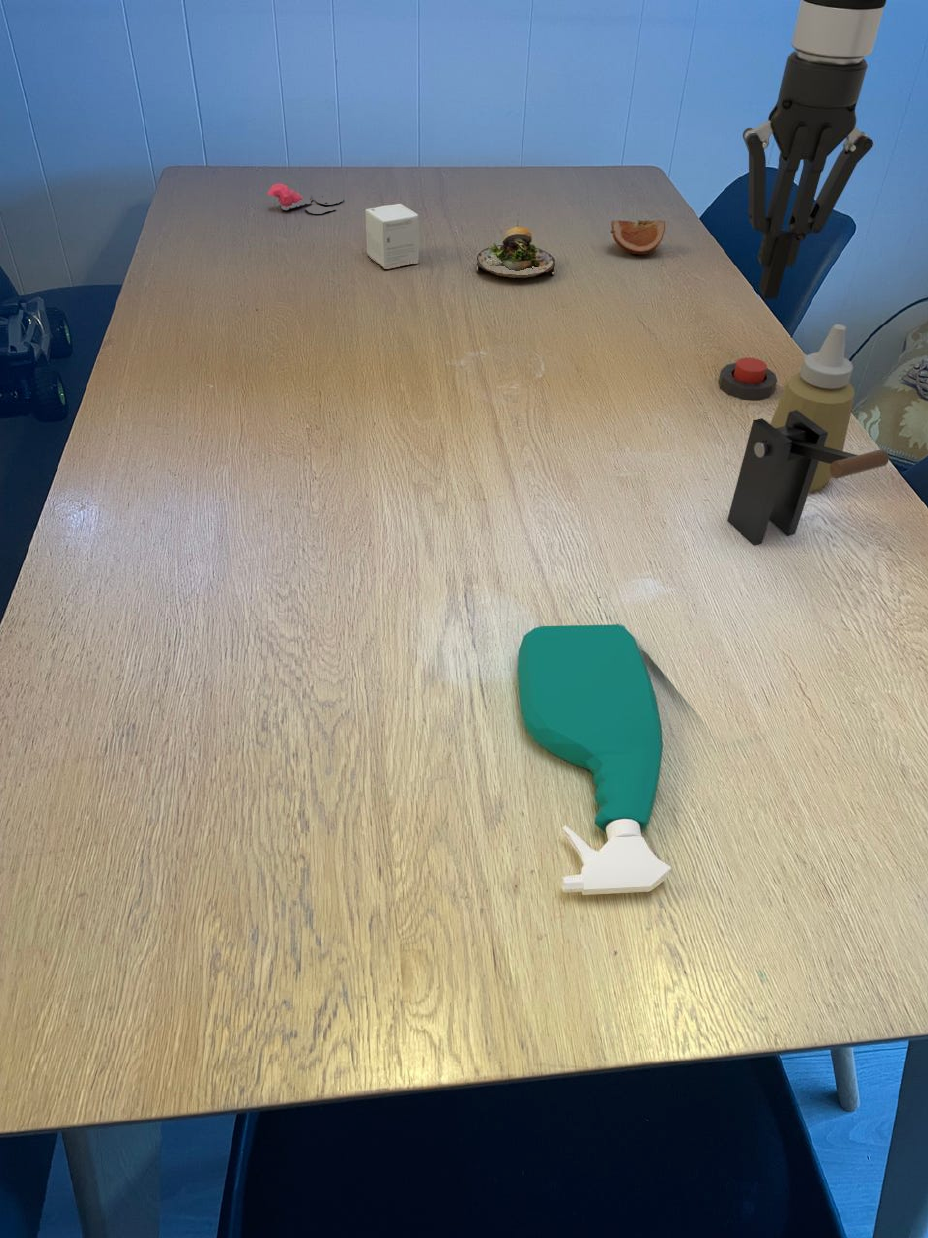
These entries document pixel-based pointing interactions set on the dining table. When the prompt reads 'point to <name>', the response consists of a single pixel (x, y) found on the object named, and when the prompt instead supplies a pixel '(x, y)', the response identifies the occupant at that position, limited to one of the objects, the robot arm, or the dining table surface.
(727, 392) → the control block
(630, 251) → the fruit slice
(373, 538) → the dining table surface
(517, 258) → the burger
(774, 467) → the bracket
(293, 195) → the pink fuzzy curved piece
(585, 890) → the spray bottle
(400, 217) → the product box
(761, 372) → the button
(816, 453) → the lever
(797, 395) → the squeeze bottle
